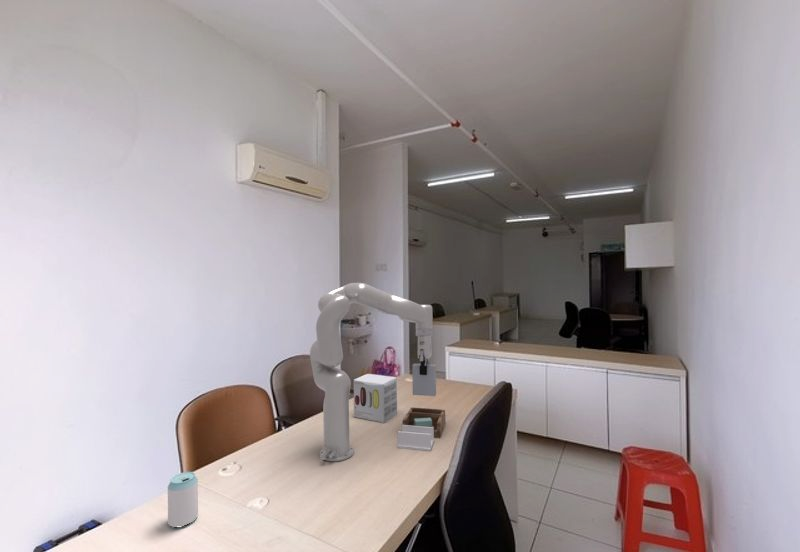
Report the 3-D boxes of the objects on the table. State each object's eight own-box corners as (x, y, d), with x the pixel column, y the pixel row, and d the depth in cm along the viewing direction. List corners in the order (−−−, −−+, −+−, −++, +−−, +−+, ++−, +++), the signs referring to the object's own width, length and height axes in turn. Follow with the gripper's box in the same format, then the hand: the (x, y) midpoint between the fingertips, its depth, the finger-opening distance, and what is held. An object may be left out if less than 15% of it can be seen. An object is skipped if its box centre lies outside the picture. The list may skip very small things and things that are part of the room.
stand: (430, 451, 137) (430, 435, 137) (397, 447, 140) (397, 432, 140) (434, 440, 146) (434, 426, 146) (403, 438, 149) (402, 423, 149)
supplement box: (353, 417, 173) (352, 379, 173) (368, 408, 184) (367, 373, 185) (384, 423, 165) (383, 383, 165) (398, 414, 176) (397, 376, 177)
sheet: (434, 396, 158) (434, 366, 158) (412, 394, 160) (412, 365, 161) (436, 393, 161) (435, 364, 162) (414, 392, 164) (414, 363, 164)
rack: (440, 438, 148) (439, 422, 148) (402, 434, 152) (402, 419, 152) (445, 423, 163) (445, 408, 164) (411, 420, 167) (410, 406, 168)
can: (203, 512, 103) (202, 469, 103) (189, 529, 96) (188, 483, 96) (177, 513, 102) (177, 470, 103) (162, 530, 95) (161, 484, 96)
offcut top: (432, 427, 152) (432, 420, 152) (415, 429, 151) (415, 421, 151) (430, 424, 156) (430, 417, 156) (414, 425, 155) (414, 418, 155)
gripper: (429, 335, 153) (429, 378, 152) (435, 330, 169) (435, 370, 168) (411, 334, 155) (411, 377, 154) (419, 329, 171) (419, 369, 170)
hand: (424, 373), depth 161 cm, fingers closed on sheet, 3 cm apart
